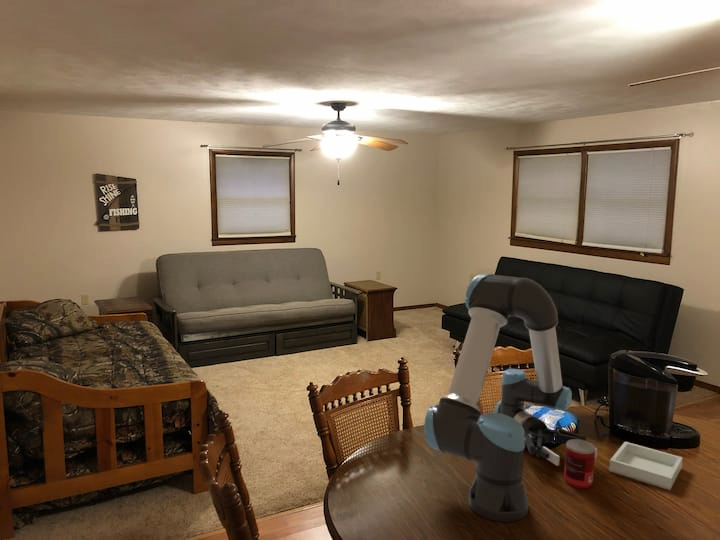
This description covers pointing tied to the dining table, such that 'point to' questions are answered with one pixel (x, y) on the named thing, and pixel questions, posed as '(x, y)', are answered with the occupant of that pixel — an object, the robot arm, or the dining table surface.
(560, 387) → the robot arm
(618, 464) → the tray
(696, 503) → the dining table surface
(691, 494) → the dining table surface
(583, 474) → the canned food
